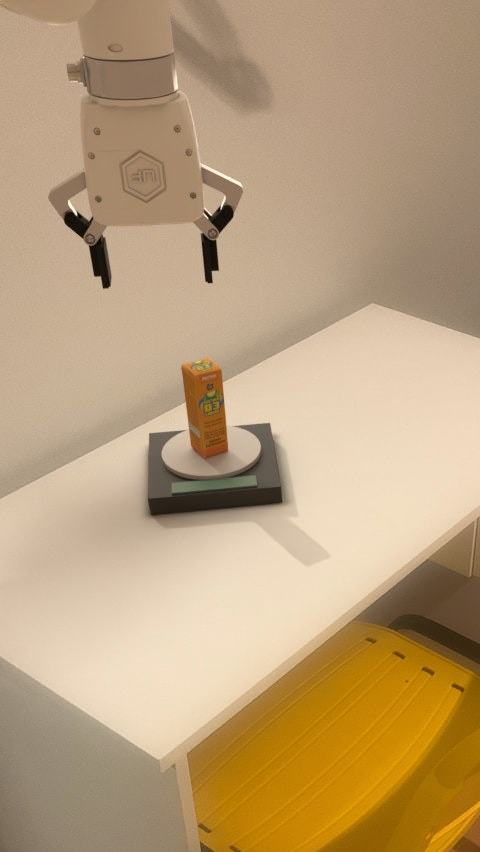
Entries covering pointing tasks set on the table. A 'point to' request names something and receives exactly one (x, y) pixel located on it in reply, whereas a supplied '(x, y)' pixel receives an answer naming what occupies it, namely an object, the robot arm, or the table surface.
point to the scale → (212, 471)
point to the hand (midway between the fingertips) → (158, 280)
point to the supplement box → (205, 407)
